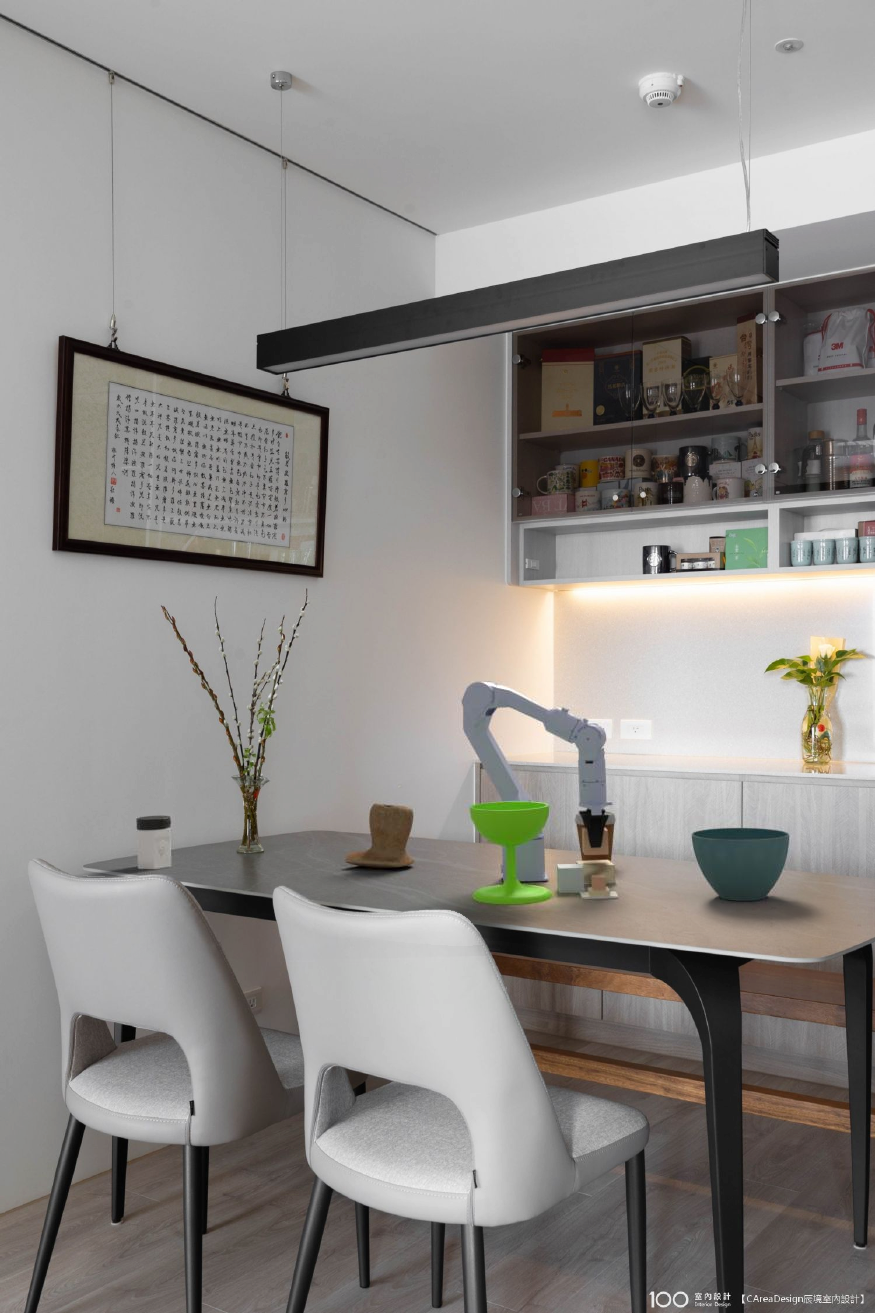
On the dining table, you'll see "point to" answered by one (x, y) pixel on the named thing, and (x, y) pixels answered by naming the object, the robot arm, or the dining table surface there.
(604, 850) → the terracotta block
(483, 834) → the wineglass
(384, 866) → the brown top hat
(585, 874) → the maple base block
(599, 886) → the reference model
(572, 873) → the grey block
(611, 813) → the disposable coffee cup
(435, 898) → the dining table surface
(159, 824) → the jar
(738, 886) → the dark teal bowl
